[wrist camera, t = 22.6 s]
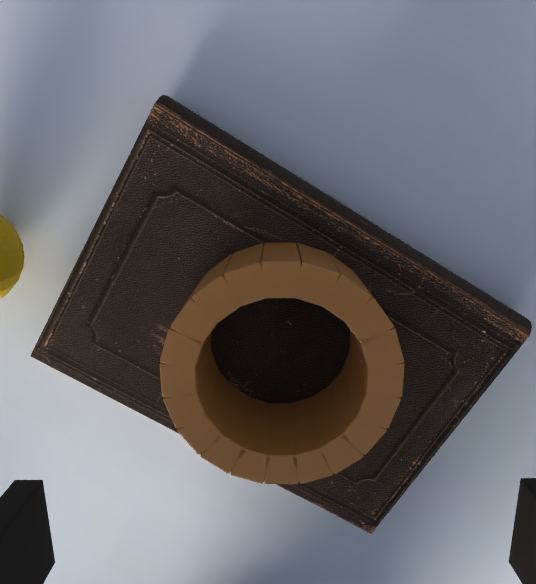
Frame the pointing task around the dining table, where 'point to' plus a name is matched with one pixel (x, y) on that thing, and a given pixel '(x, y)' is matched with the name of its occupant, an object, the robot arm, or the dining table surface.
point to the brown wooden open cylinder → (282, 416)
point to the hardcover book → (269, 302)
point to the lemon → (9, 256)
